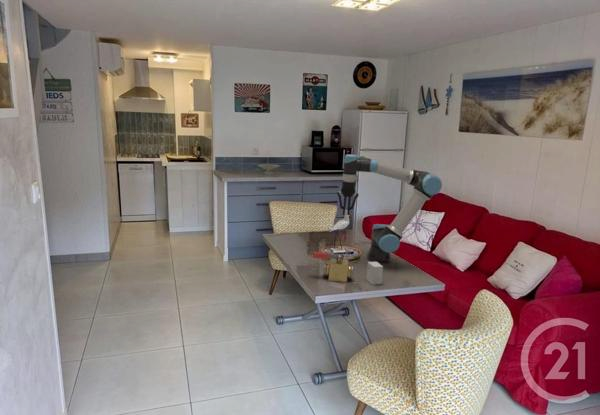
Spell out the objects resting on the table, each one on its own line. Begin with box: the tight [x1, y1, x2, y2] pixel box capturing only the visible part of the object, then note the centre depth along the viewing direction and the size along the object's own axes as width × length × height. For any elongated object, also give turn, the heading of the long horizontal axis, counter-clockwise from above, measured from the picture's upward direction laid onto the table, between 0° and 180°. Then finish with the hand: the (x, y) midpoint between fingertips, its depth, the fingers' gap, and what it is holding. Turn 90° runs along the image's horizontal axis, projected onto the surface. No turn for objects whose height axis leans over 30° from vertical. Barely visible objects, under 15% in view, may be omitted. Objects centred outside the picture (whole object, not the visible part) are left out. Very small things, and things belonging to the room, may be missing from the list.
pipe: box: [323, 262, 354, 280], centre depth 231 cm, size 16×8×8 cm, turn 84°
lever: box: [312, 251, 345, 260], centre depth 230 cm, size 17×4×3 cm, turn 84°
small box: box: [365, 261, 384, 286], centre depth 229 cm, size 8×6×10 cm
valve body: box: [325, 258, 352, 283], centre depth 231 cm, size 14×9×11 cm, turn 84°
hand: (345, 220), depth 247 cm, fingers closed
